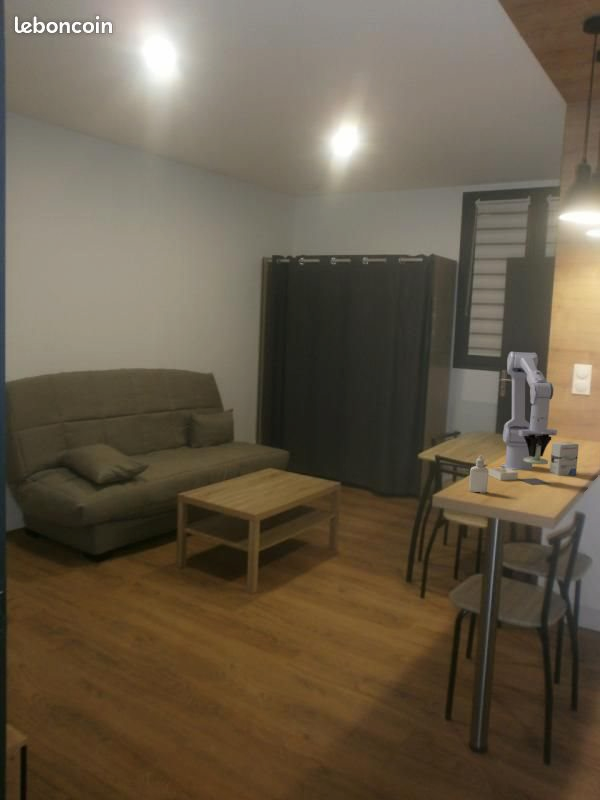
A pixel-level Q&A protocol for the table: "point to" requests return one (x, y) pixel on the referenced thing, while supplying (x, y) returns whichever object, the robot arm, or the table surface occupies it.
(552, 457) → the ink box
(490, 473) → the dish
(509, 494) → the table surface
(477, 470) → the eye dropper bottle
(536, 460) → the lid
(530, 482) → the mat
